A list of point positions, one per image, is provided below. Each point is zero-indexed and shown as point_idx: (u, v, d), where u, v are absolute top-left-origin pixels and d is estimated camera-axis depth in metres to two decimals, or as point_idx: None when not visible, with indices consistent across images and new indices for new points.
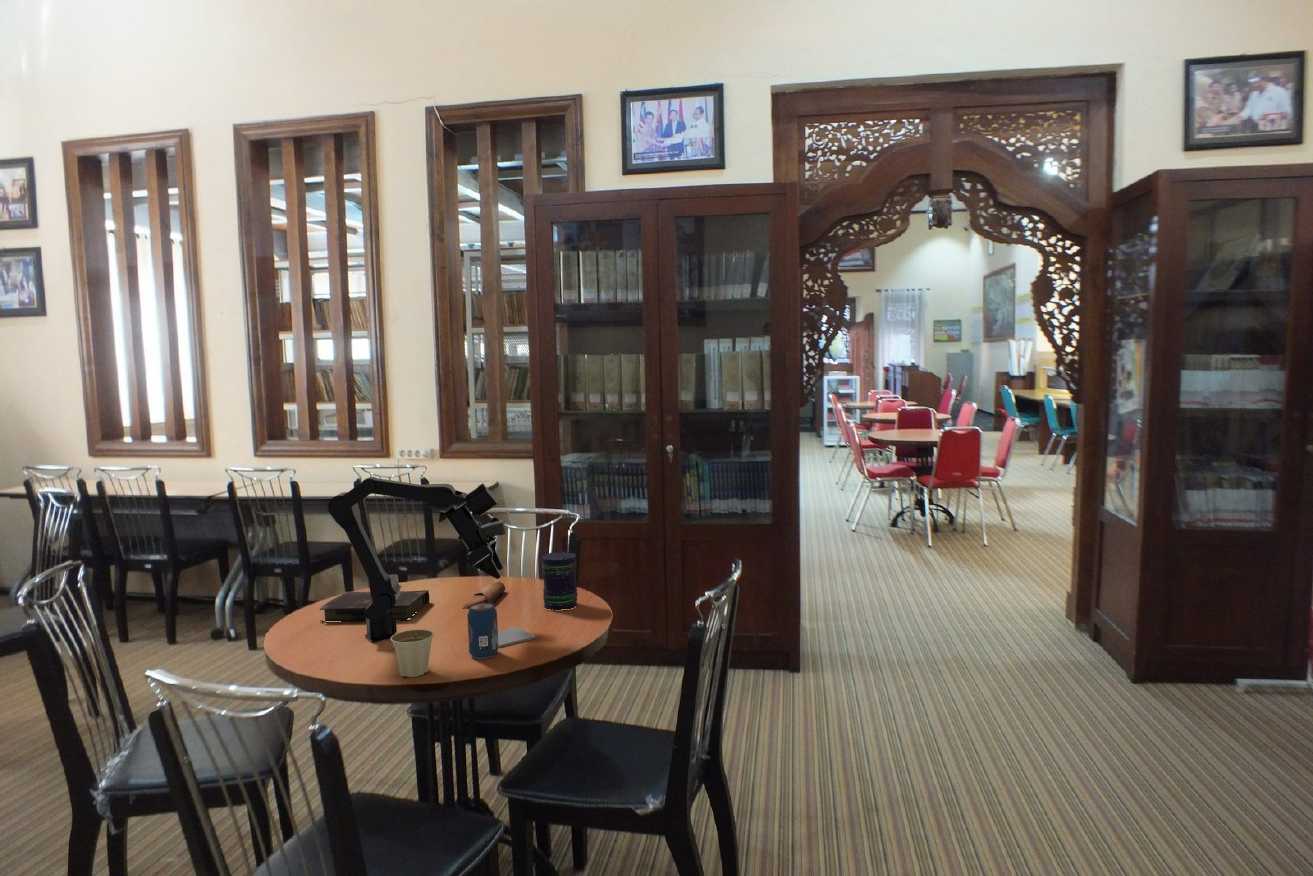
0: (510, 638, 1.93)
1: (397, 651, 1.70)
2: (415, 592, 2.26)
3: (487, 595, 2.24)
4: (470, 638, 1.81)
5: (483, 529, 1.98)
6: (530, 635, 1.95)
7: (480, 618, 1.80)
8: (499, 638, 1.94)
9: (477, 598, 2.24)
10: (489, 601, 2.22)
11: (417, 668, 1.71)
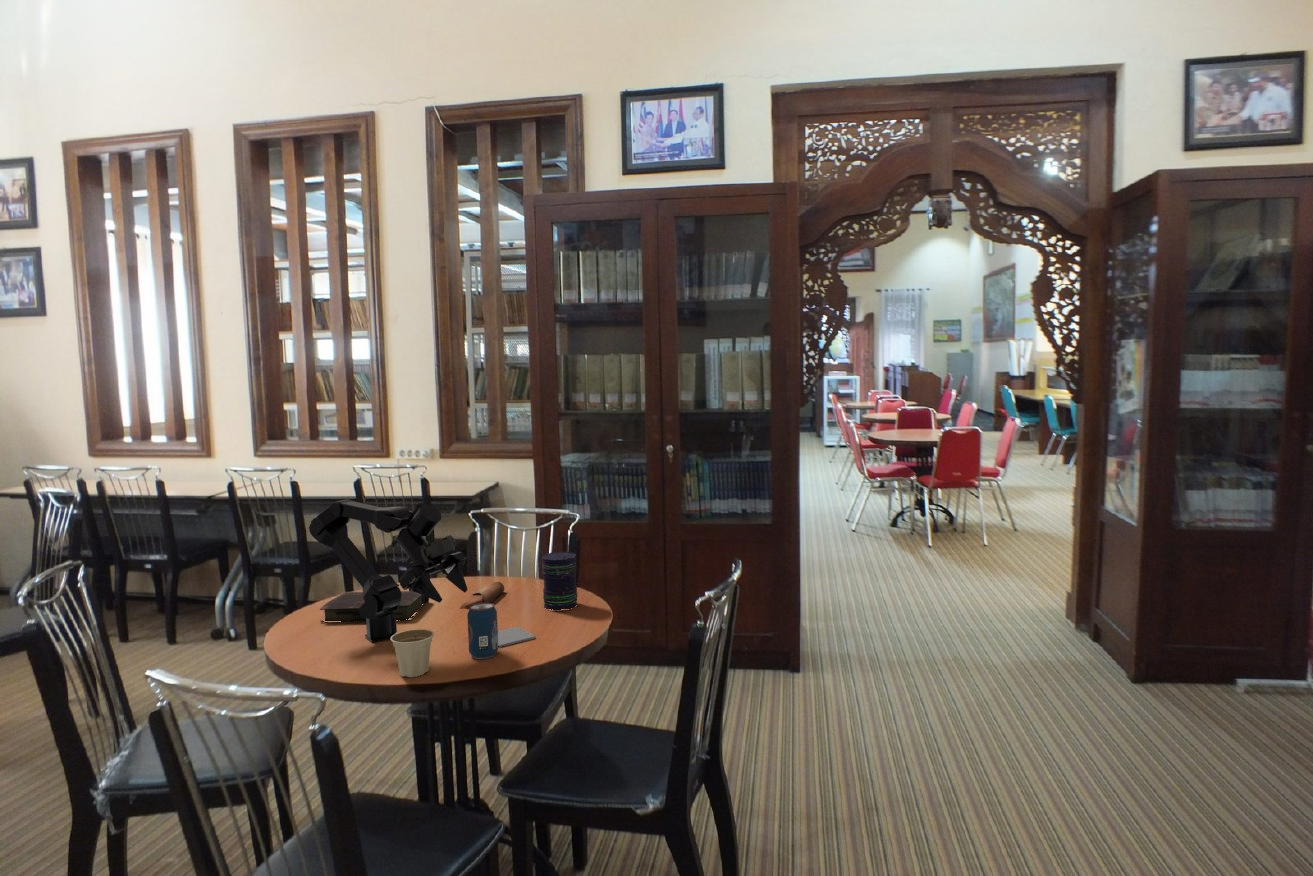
0: (510, 638, 1.93)
1: (397, 651, 1.70)
2: (415, 592, 2.26)
3: (485, 595, 2.24)
4: (470, 638, 1.81)
5: (425, 550, 1.86)
6: (530, 635, 1.95)
7: (480, 618, 1.80)
8: (499, 638, 1.94)
9: (475, 598, 2.24)
10: (486, 601, 2.22)
11: (417, 668, 1.71)
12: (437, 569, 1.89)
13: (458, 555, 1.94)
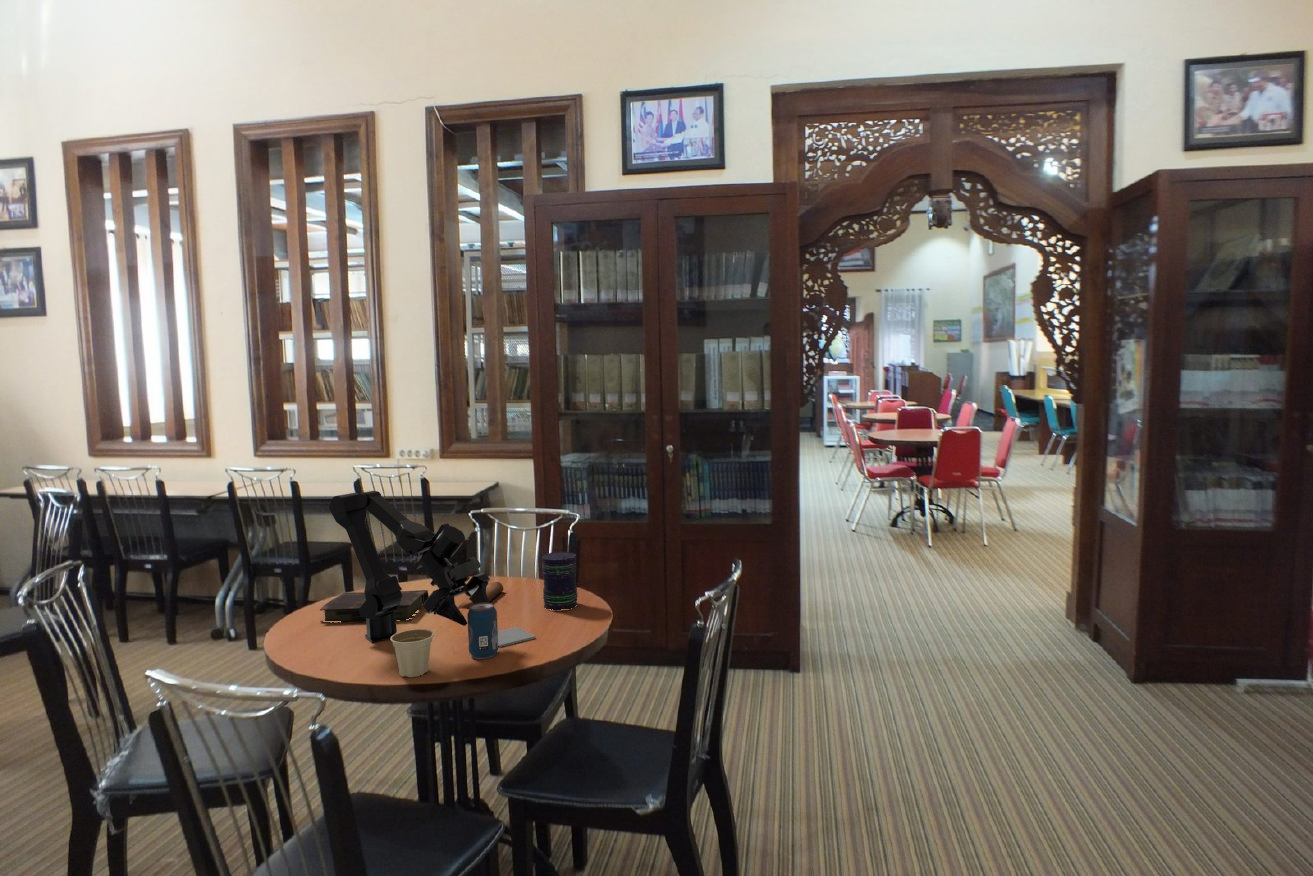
0: (510, 638, 1.93)
1: (397, 651, 1.70)
2: (414, 592, 2.26)
3: None
4: (470, 638, 1.81)
5: (449, 572, 1.84)
6: (530, 635, 1.95)
7: (480, 618, 1.80)
8: (499, 638, 1.94)
9: None
10: None
11: (417, 668, 1.71)
12: (461, 591, 1.86)
13: (482, 576, 1.91)
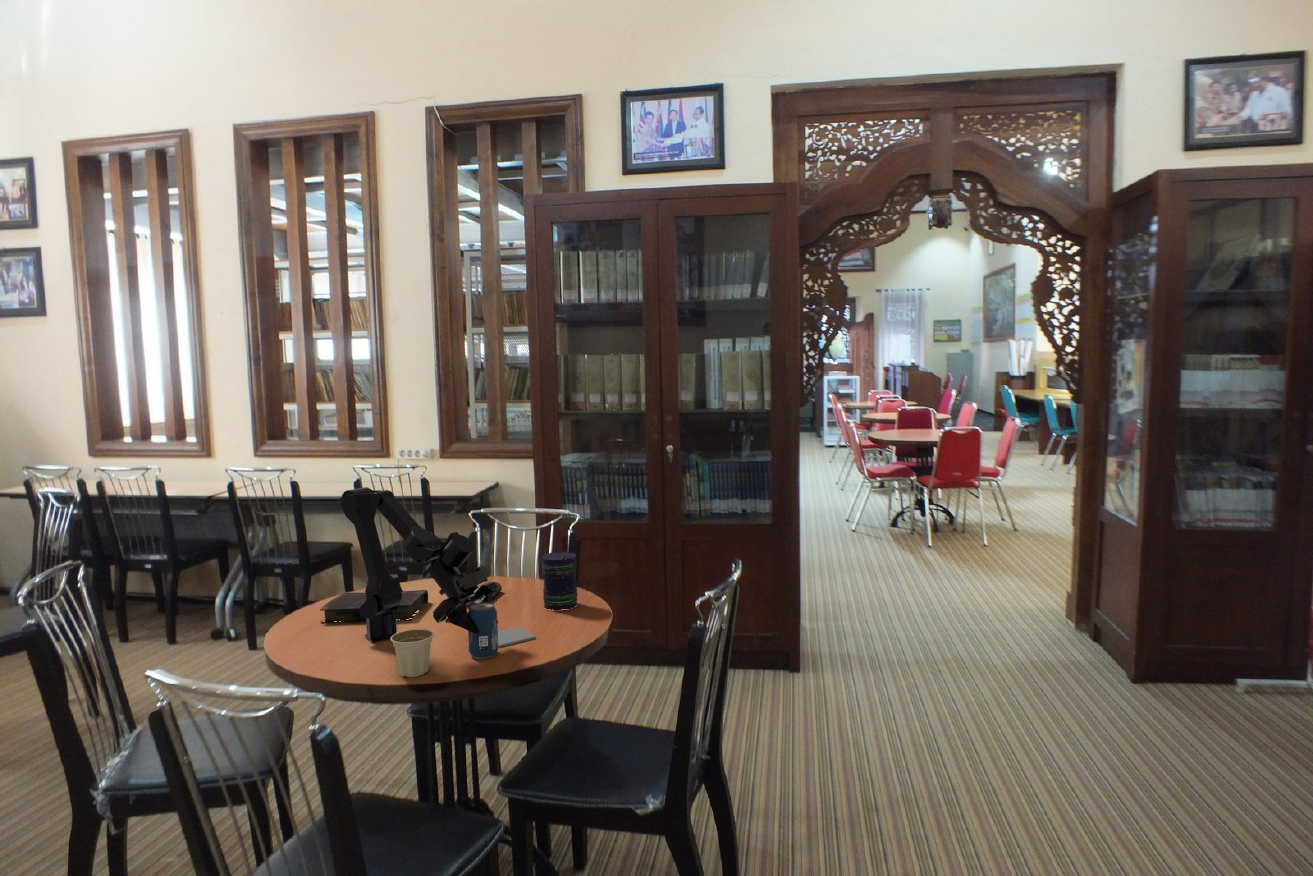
0: (510, 638, 1.93)
1: (397, 651, 1.70)
2: (414, 592, 2.27)
3: None
4: (470, 638, 1.81)
5: (458, 581, 1.83)
6: (530, 635, 1.95)
7: (480, 618, 1.80)
8: (499, 638, 1.94)
9: None
10: None
11: (417, 668, 1.71)
12: (470, 600, 1.85)
13: (490, 585, 1.90)
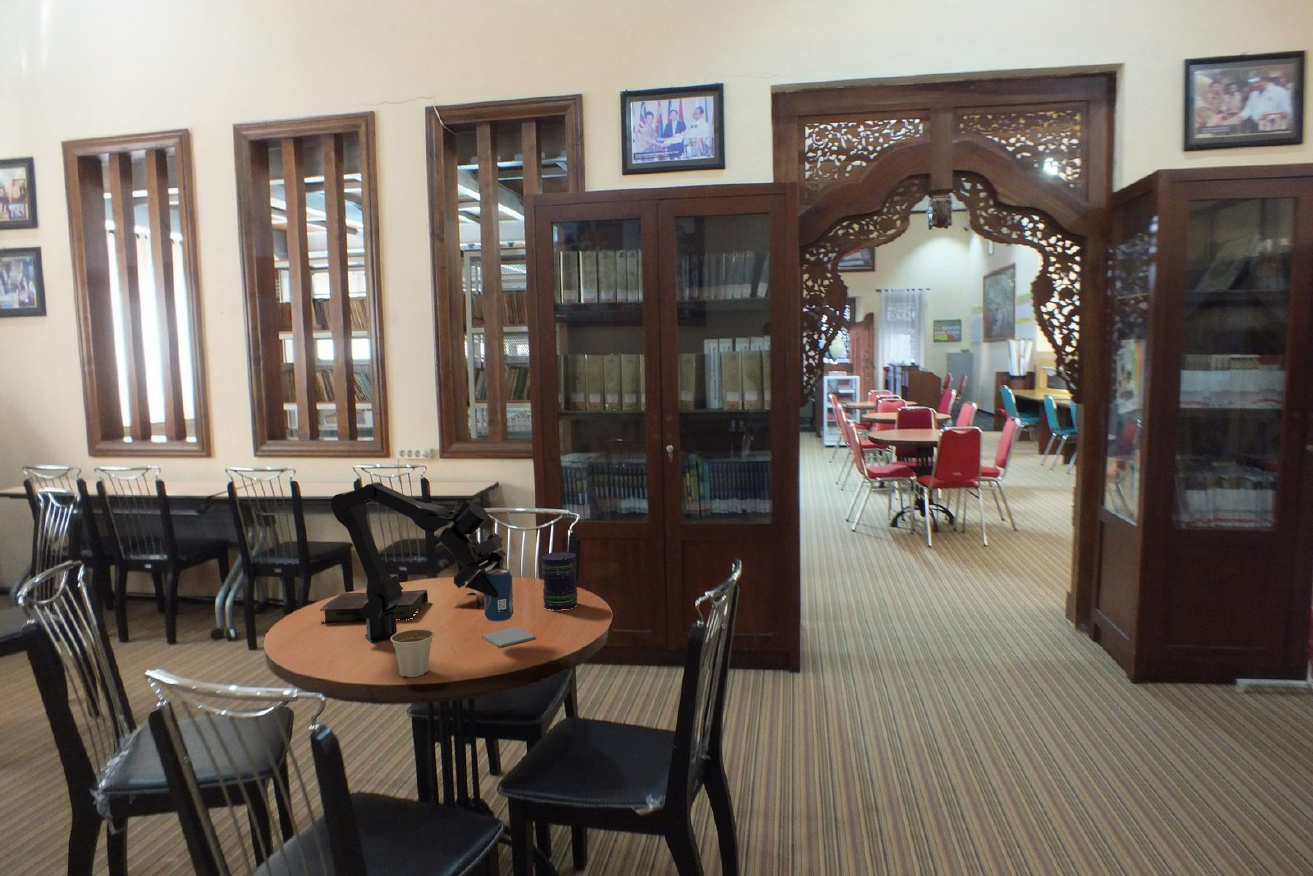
0: (510, 638, 1.93)
1: (397, 651, 1.70)
2: (414, 592, 2.27)
3: (479, 595, 2.24)
4: (488, 602, 1.87)
5: (474, 548, 1.88)
6: (530, 635, 1.95)
7: (499, 582, 1.86)
8: (499, 638, 1.94)
9: (469, 598, 2.25)
10: (481, 601, 2.22)
11: (417, 668, 1.71)
12: (483, 567, 1.91)
13: (499, 552, 1.96)
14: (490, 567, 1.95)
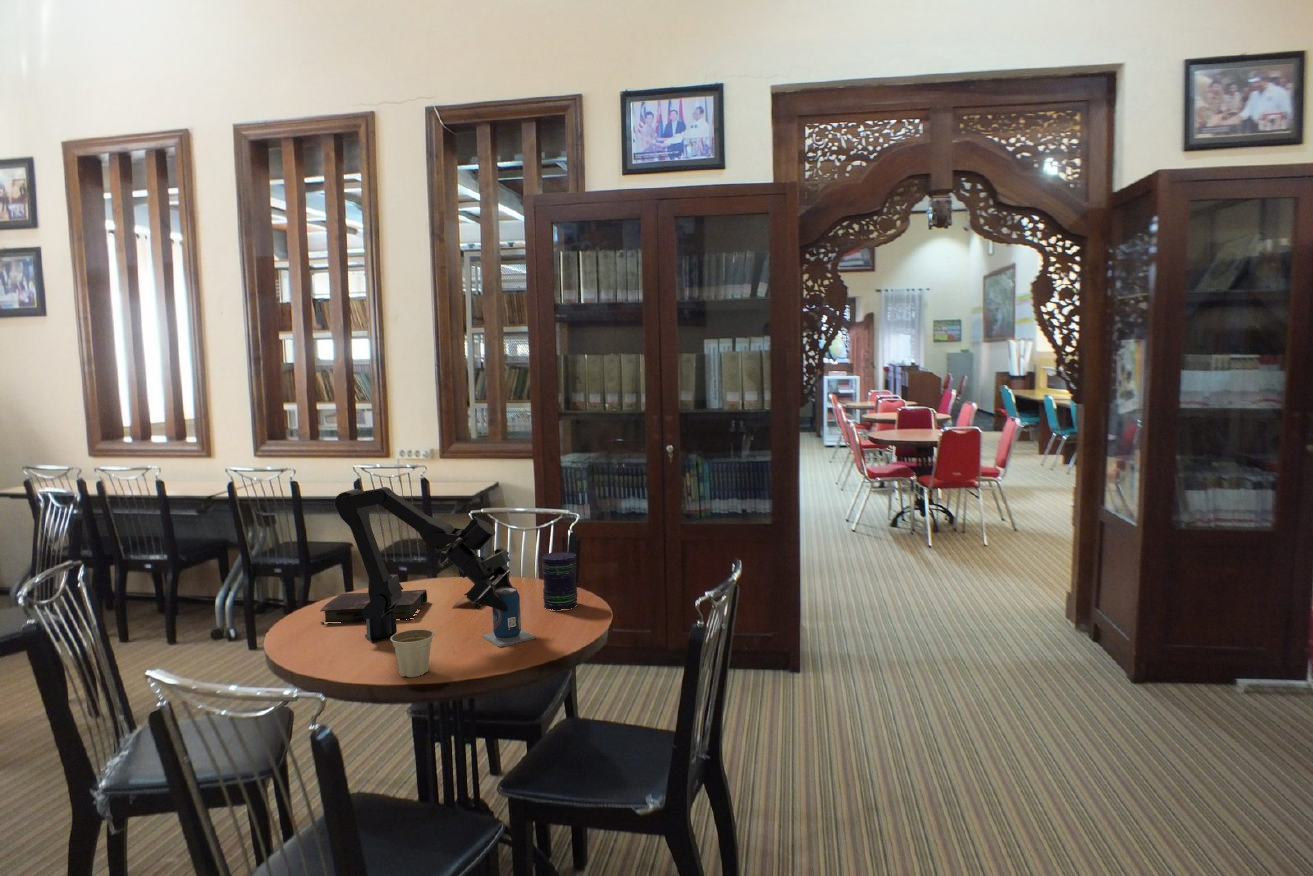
0: None
1: (397, 651, 1.70)
2: (413, 591, 2.27)
3: None
4: (498, 621, 1.92)
5: (483, 563, 1.92)
6: (530, 635, 1.95)
7: (509, 600, 1.91)
8: None
9: None
10: None
11: (417, 668, 1.71)
12: (491, 581, 1.95)
13: (504, 566, 2.01)
14: (497, 580, 2.00)
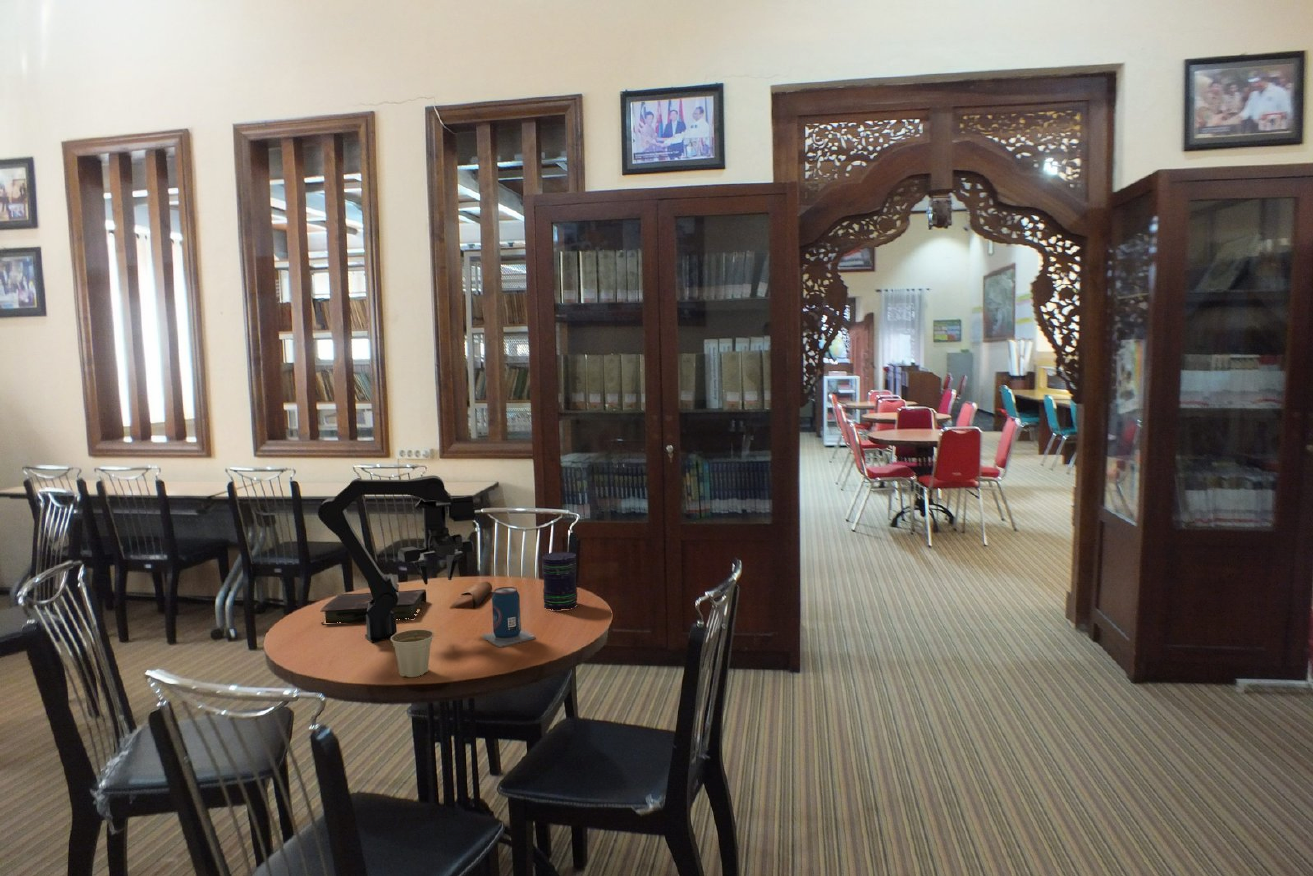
0: None
1: (397, 651, 1.70)
2: (413, 591, 2.27)
3: (475, 595, 2.25)
4: (498, 621, 1.92)
5: (432, 538, 1.97)
6: (530, 635, 1.95)
7: (509, 600, 1.91)
8: None
9: (464, 598, 2.25)
10: (476, 601, 2.23)
11: (417, 668, 1.71)
12: None
13: (465, 547, 2.03)
14: None
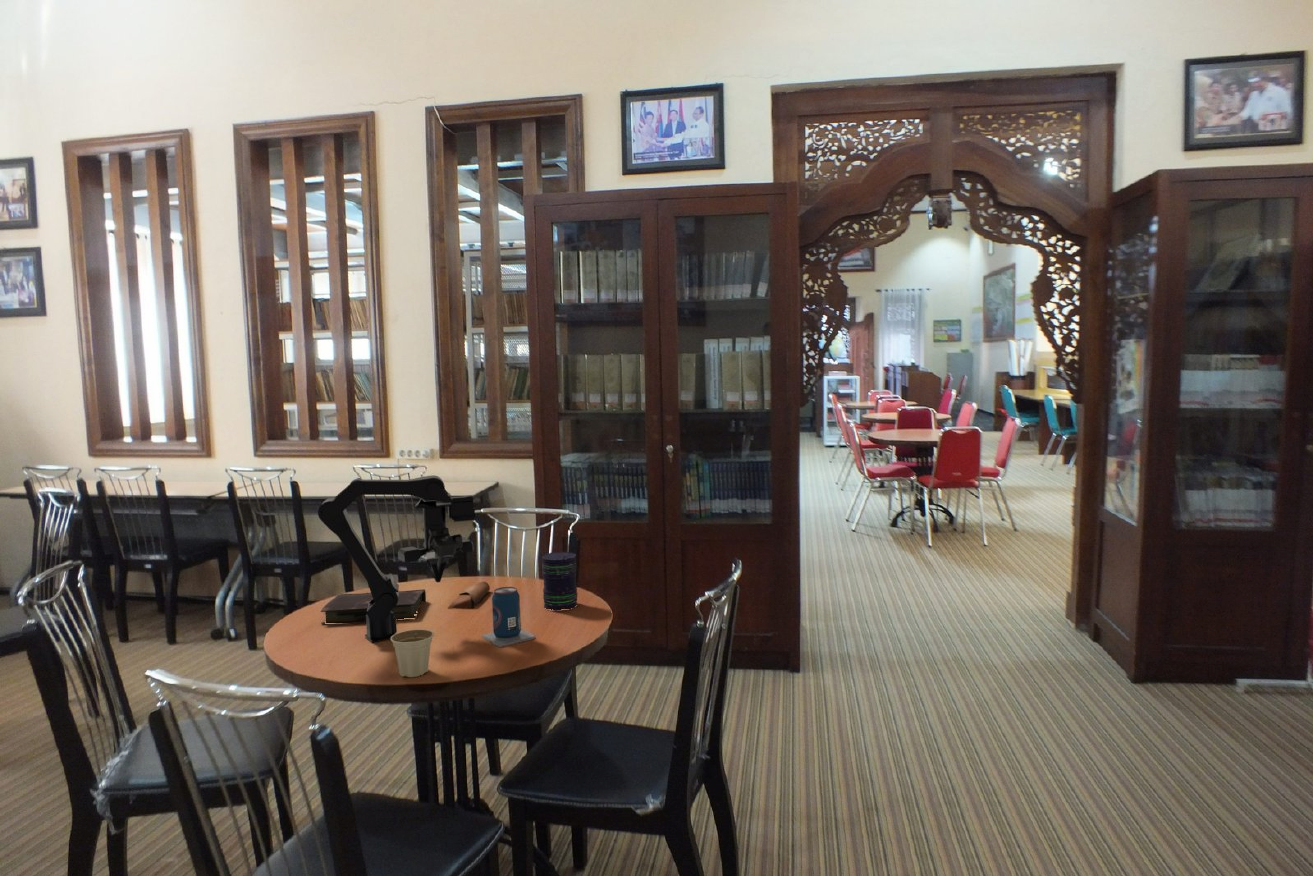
0: None
1: (397, 651, 1.70)
2: (412, 591, 2.27)
3: (473, 595, 2.25)
4: (498, 621, 1.92)
5: (432, 538, 1.97)
6: (530, 635, 1.95)
7: (509, 600, 1.91)
8: None
9: (462, 597, 2.25)
10: (475, 600, 2.23)
11: (417, 668, 1.71)
12: None
13: (465, 547, 2.03)
14: None
